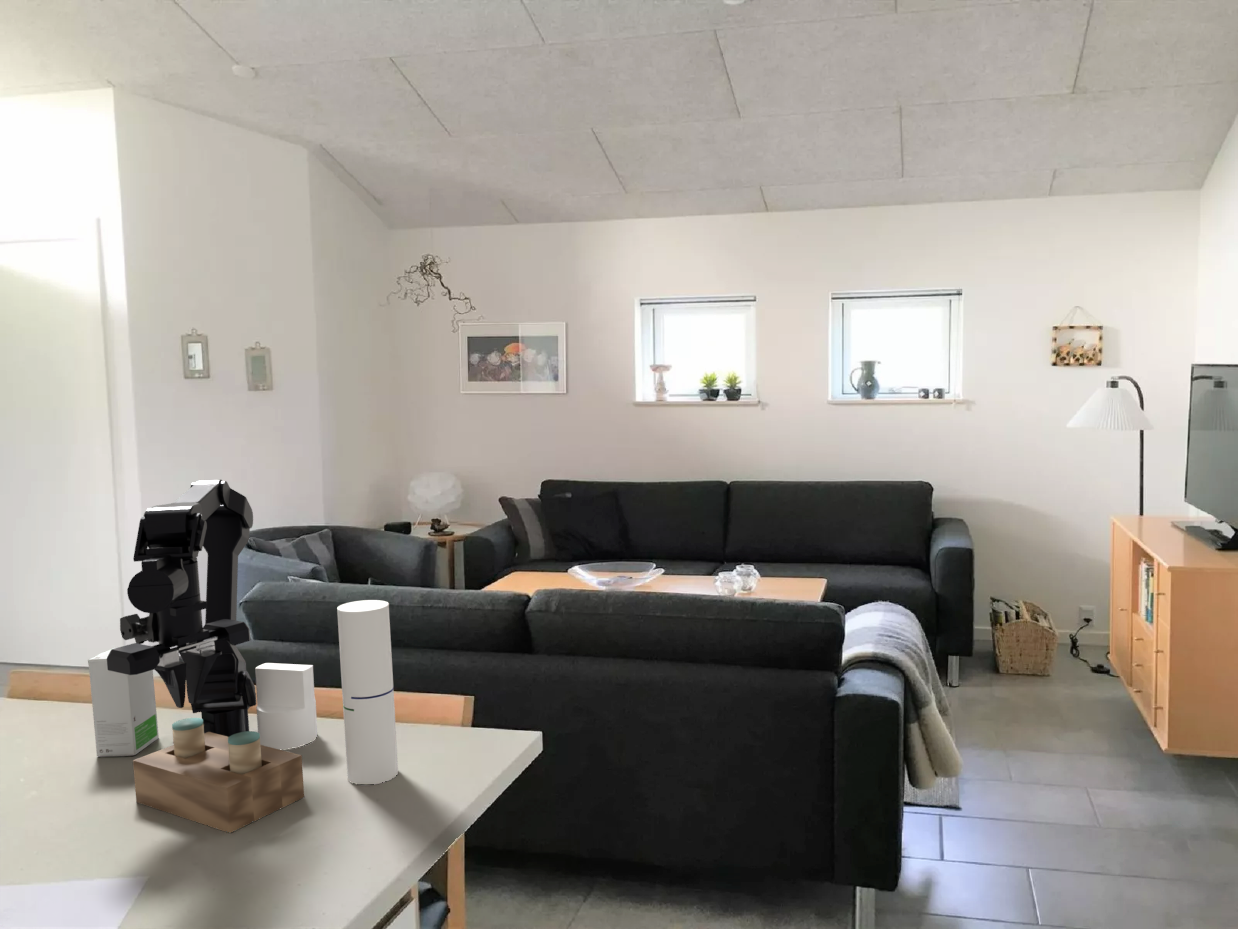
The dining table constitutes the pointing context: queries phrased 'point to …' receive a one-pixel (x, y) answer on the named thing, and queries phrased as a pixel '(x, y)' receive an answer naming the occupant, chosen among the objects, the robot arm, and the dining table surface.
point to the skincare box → (122, 709)
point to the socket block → (218, 784)
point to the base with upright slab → (285, 705)
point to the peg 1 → (188, 737)
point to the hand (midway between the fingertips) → (186, 705)
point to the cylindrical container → (367, 691)
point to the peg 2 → (244, 752)
